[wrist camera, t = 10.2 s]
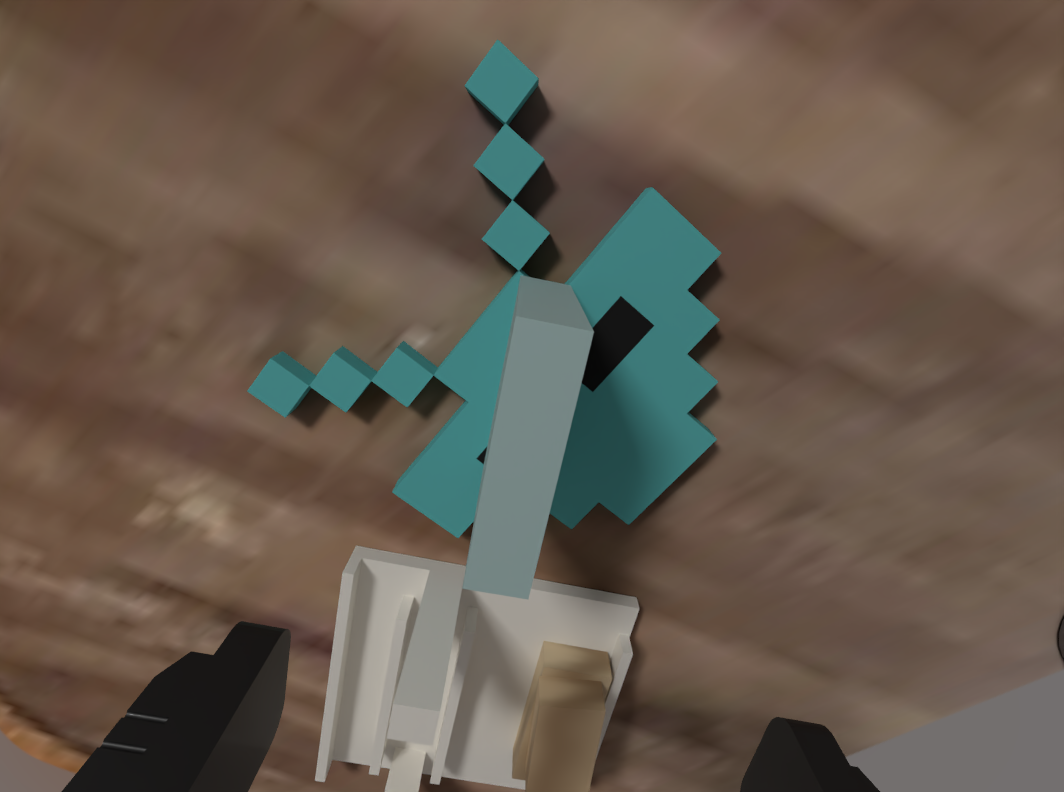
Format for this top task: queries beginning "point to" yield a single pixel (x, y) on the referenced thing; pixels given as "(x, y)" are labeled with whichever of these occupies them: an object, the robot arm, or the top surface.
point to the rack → (449, 667)
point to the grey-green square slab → (527, 436)
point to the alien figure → (612, 365)
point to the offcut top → (564, 735)
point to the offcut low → (562, 665)
